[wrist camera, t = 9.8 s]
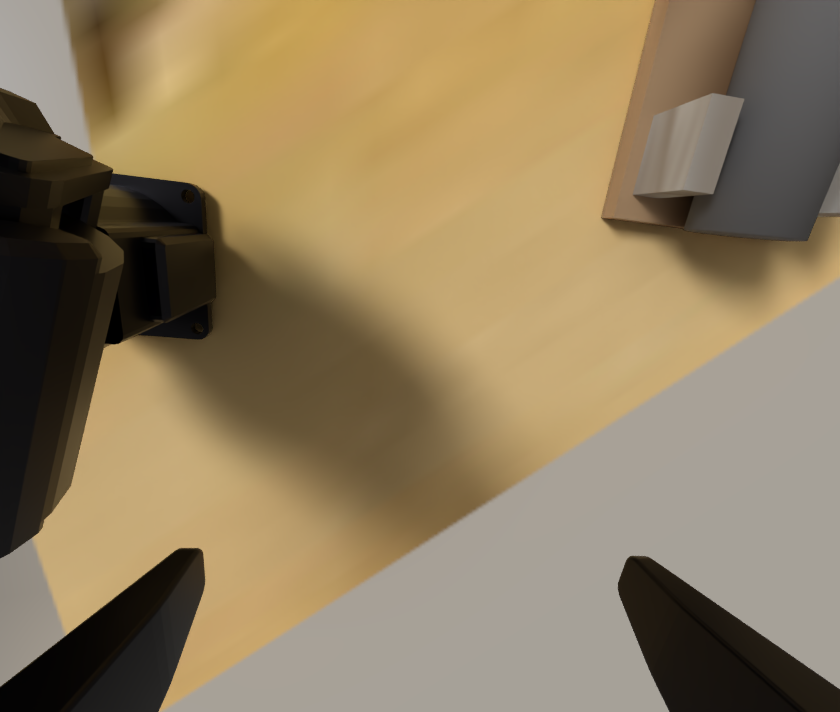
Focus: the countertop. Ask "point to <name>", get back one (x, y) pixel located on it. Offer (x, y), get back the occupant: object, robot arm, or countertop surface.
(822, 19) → the gray rod with block
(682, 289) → the countertop surface
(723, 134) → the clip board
